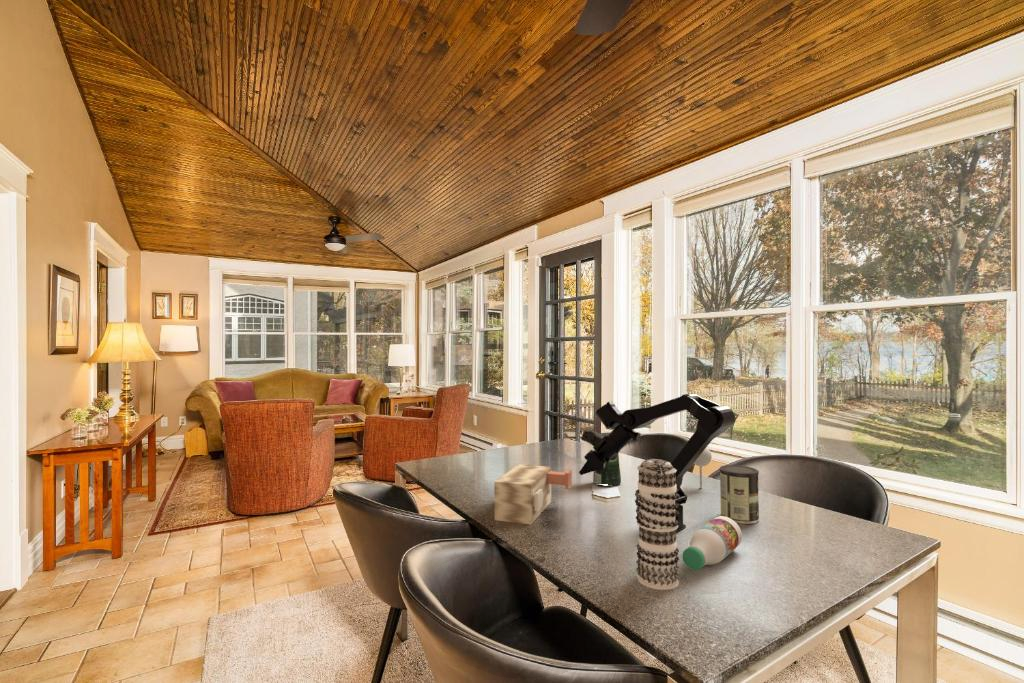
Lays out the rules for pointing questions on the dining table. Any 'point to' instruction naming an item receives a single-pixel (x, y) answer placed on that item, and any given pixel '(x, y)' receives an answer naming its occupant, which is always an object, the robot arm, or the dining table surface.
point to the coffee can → (739, 493)
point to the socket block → (521, 493)
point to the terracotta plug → (560, 478)
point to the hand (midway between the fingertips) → (580, 473)
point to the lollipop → (703, 461)
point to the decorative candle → (657, 525)
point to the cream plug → (538, 499)
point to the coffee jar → (609, 471)
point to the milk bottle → (712, 543)
